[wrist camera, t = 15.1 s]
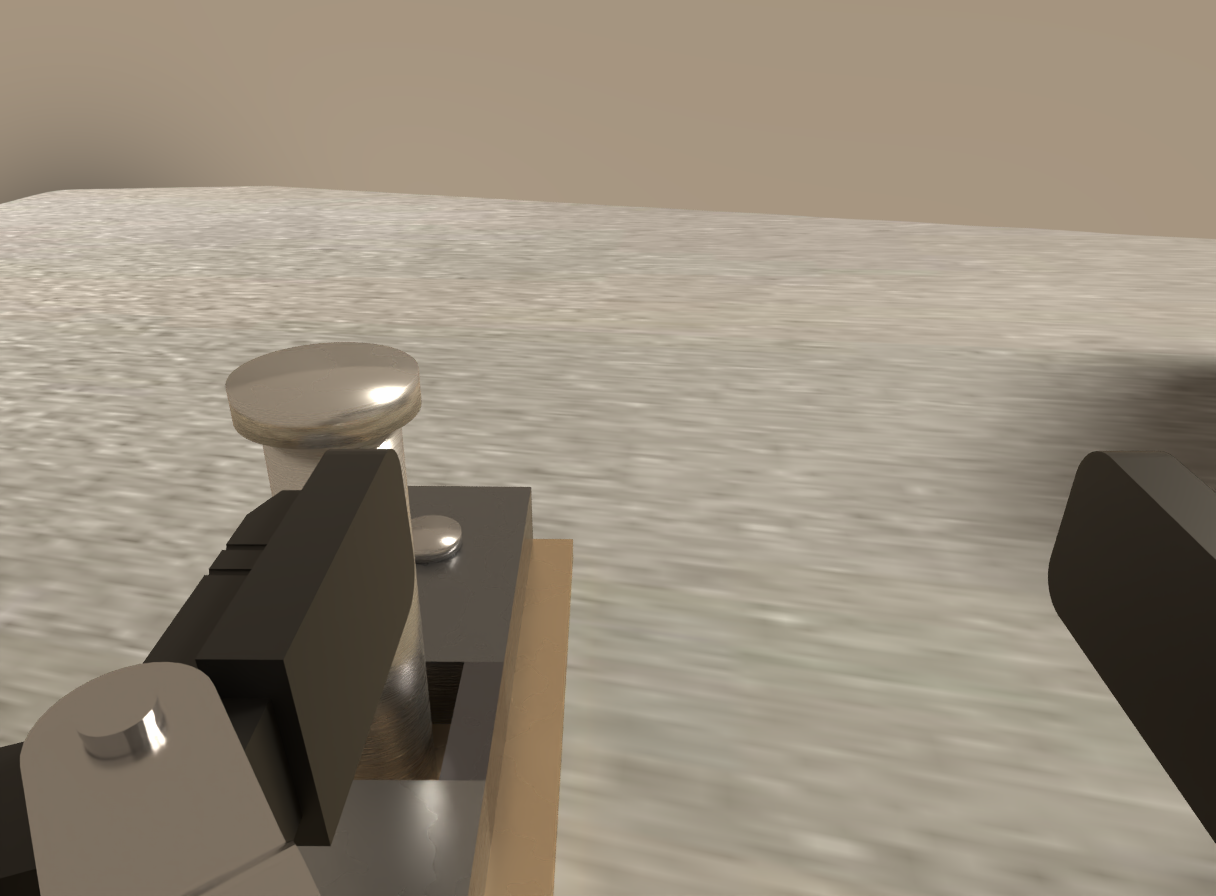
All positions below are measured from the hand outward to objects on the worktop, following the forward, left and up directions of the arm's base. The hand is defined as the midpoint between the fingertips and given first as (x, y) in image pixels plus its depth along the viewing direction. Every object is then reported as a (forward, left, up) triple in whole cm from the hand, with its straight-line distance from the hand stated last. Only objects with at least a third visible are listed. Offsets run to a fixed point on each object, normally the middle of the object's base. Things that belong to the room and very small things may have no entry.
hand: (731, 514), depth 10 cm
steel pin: (-3, -14, -18) cm, 23 cm away
